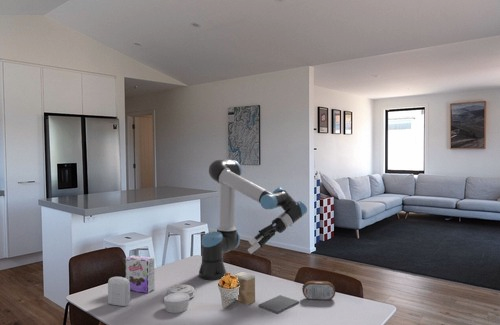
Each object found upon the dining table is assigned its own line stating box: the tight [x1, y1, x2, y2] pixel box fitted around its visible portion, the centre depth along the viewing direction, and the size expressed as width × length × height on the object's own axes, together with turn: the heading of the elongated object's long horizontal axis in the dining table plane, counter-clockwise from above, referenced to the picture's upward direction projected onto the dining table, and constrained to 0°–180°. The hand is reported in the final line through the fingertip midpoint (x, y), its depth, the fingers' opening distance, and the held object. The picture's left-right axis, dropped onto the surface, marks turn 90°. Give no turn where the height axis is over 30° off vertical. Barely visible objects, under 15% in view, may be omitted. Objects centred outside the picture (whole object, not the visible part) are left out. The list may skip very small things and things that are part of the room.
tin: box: [302, 280, 336, 301], centre depth 170 cm, size 15×3×8 cm, turn 84°
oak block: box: [234, 271, 256, 306], centre depth 169 cm, size 8×5×12 cm, turn 46°
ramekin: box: [163, 293, 191, 314], centre depth 161 cm, size 11×11×5 cm
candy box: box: [124, 255, 156, 294], centre depth 184 cm, size 14×6×16 cm, turn 68°
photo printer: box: [107, 276, 131, 307], centre depth 167 cm, size 10×4×12 cm, turn 72°
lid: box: [166, 283, 195, 299], centre depth 175 cm, size 13×13×5 cm
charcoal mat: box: [258, 294, 300, 314], centre depth 165 cm, size 11×15×1 cm
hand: (249, 247), depth 182 cm, fingers open, 13 cm apart
